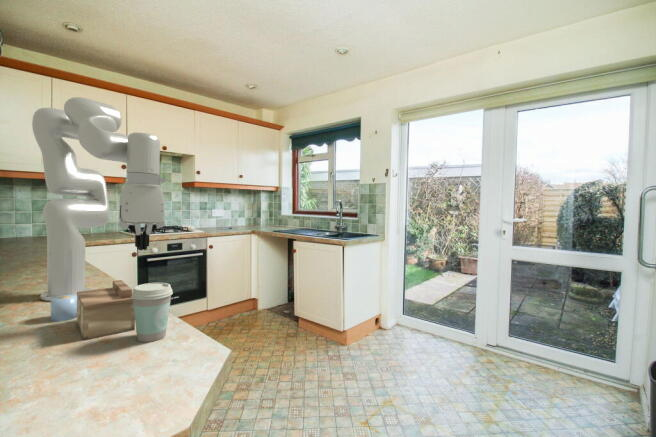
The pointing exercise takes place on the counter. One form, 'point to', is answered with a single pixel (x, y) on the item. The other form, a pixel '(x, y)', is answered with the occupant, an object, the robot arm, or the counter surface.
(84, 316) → the crate
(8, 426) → the counter surface
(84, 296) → the lid
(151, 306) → the coffee cup
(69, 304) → the pale blue rounded block
